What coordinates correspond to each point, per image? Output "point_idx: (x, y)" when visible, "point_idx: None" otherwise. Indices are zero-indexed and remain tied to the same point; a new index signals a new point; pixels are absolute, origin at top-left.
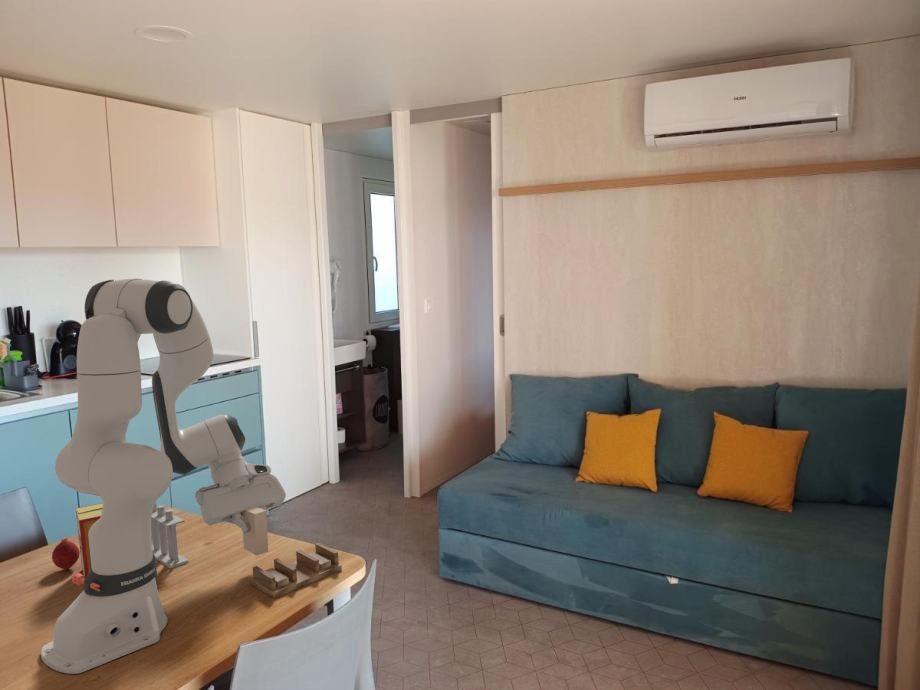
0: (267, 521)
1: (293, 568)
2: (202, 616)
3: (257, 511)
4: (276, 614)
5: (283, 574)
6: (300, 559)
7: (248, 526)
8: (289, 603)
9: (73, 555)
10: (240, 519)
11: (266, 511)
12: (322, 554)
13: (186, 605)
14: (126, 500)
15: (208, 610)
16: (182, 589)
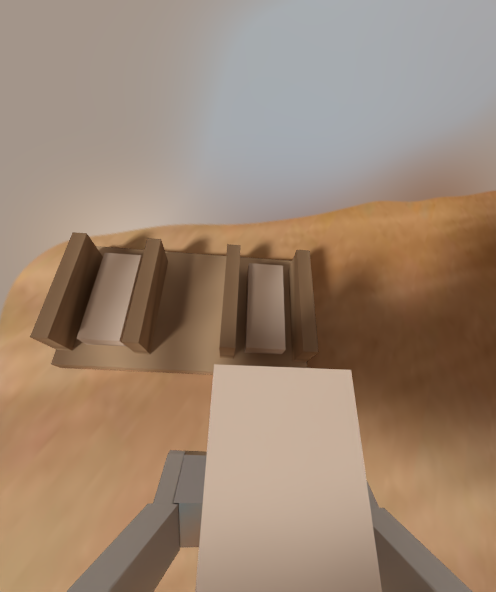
0: (167, 459)
1: (233, 249)
2: (454, 323)
3: (293, 423)
4: (324, 219)
5: (248, 285)
6: (149, 325)
7: None
8: (284, 230)
9: None
10: (415, 559)
11: (97, 563)
12: (77, 306)
13: (485, 408)
14: None
15: (437, 337)
16: (492, 536)
